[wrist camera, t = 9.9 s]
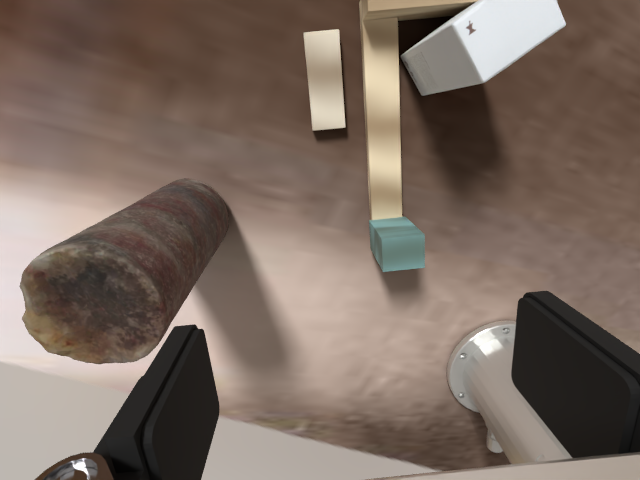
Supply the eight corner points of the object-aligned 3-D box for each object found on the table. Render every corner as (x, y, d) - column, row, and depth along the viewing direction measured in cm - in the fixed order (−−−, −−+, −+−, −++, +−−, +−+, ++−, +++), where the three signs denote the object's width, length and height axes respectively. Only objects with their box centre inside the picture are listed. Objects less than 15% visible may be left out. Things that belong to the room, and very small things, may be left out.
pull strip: (475, 234, 38) (512, 258, 32) (368, 244, 38) (383, 271, 31) (485, -9, 32) (536, -44, 25) (355, 3, 31) (370, -29, 25)
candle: (245, 201, 36) (184, 288, 17) (215, 261, 38) (130, 400, 19) (172, 163, 35) (19, 214, 16) (145, 228, 37) (-23, 343, 18)
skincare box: (421, 98, 34) (481, 86, 23) (398, 56, 33) (449, 22, 22) (478, 57, 33) (570, 25, 22) (457, 13, 32) (541, -46, 21)
